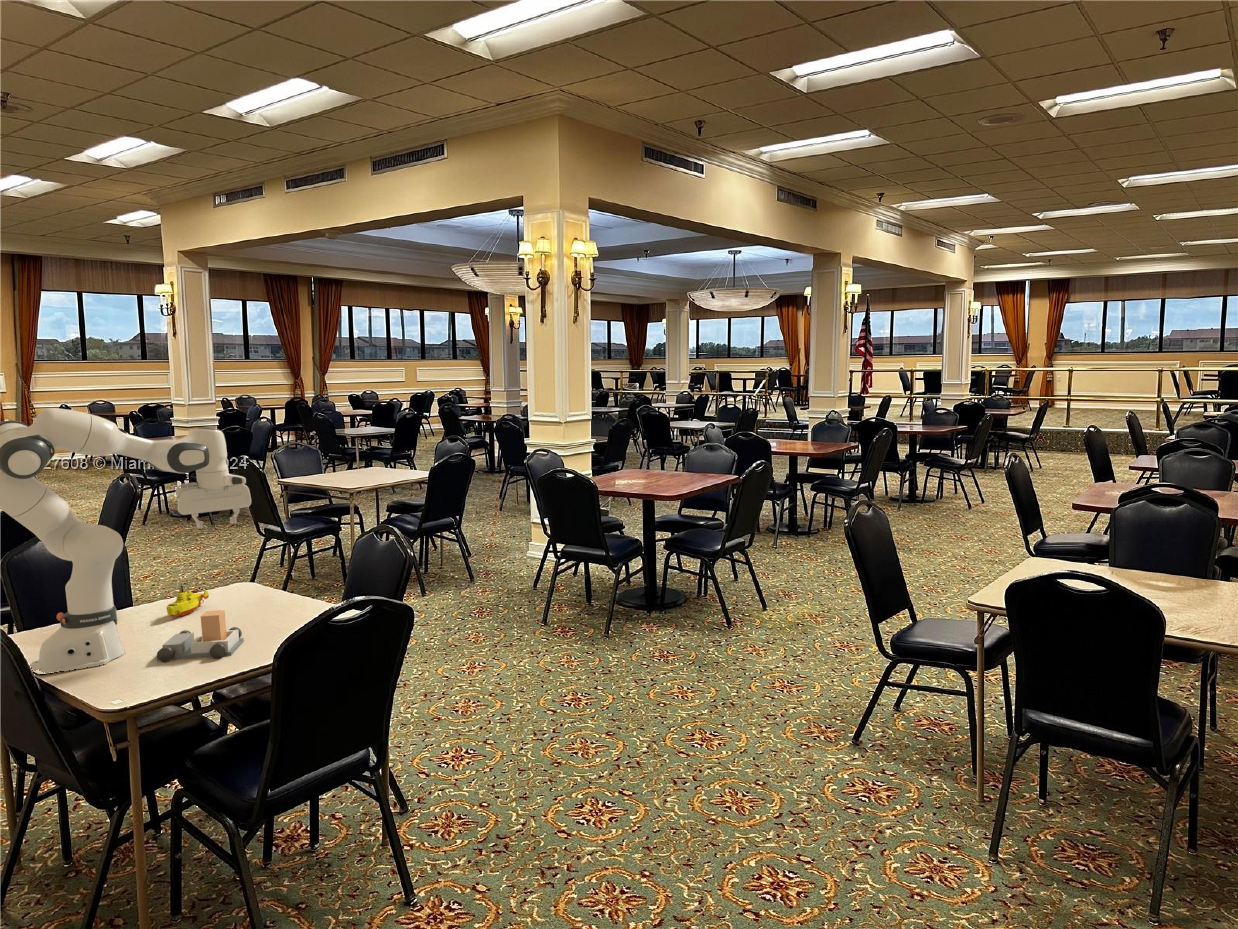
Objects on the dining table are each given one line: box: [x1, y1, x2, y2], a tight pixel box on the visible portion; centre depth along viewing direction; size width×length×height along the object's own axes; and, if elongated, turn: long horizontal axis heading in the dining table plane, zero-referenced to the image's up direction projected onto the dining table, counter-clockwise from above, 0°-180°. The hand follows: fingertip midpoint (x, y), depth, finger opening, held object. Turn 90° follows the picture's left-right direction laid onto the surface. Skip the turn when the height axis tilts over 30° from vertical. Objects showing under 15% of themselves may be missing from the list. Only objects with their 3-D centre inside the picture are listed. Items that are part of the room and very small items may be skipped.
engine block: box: [200, 609, 227, 641], centre depth 240 cm, size 5×5×10 cm
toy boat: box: [165, 585, 210, 617], centre depth 277 cm, size 6×18×10 cm, turn 174°
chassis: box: [155, 626, 245, 663], centre depth 240 cm, size 20×16×4 cm
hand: (216, 525), depth 252 cm, fingers open, 8 cm apart
